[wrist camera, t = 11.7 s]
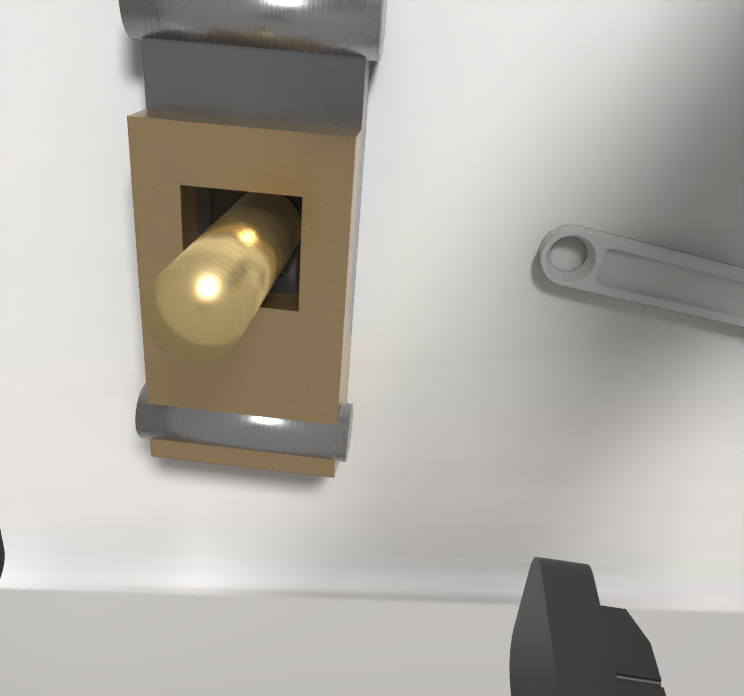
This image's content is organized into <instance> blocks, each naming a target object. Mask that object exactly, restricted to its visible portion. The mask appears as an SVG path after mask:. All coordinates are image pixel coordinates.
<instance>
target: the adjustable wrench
mask: <svg viewBox="0 0 744 696" xmlns="http://www.w3.org/2000/svg"><path fill="white" fill-rule="evenodd" d="M565 237H576V238H578V239H580V240H581V241H582V242H583V243H584V244H585V246H586V248H587V257H586V260H585V261H584V263H583V264H582V265H581V266H580V267H579V268H577V269H575V270H573V271H561V270H559V269H557V268H556V267H555V266H553V264H552V262H551V259H550V252H551V249H552V247H553V245H554V244H555V243H556V242H557V241H558V240H560V239H562V238H565ZM539 259H540V264H541V267H542V270H543V271H544V273H545V275H546V276H547V277H548V278H549V279H550V280H551V281H552V282H554V283H556V284H559V285H561V286H565V287H570V288H574V289H578V290H583V291H587V292H592V293H596V294H601V295H605V296H609V297H614V298H618V299H623V300H627V301H631V302H636V303H640V304H645V305H649V306H654V307H658V308H662V309H667V310H671V311H676V312H680V313H684V314H689V315H693V316H698V317H702V318H707V319H711V320H715V321H720V322H724V323H729V324H733V325H737V326H742V327H744V268H741V267H737V266H733V265H729V264H725V263H721V262H717V261H713V260H710V259H706V258H702V257H698V256H694V255H690V254H686V253H682V252H679V251H675V250H671V249H667V248H663V247H659V246H655V245H651V244H648V243H644V242H640V241H636V240H632V239H628V238H624V237H620V236H617V235H613V234H609V233H605V232H601V231H597V230H593V229H589V228H585V227H582V226H578V225H564V226H560V227H557V228H556V229H554V230H552V231H550V232H549V233H548V234H547V235H546V236H545V237H544V239H543V241H542V243H541V245H540V249H539Z"/></svg>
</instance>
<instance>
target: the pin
mask: <svg viewBox="0 0 744 696" xmlns="http://www.w3.org/2000/svg"><path fill="white" fill-rule="evenodd" d="M301 223H302V222H301V218H300V215H299V213H298V211H297V209H296V207H295V206H294V205H293V203H292V202H291V201H290V200H289V199H288V198H286V197H285V196H283V195H278V194H268V193H257V192H249V193H247V194H246V195H244V196H243V197H241V198H240V199H239V200H238V201H237V202H236V203H235V204H234V205H233V206H232V207H231V208H230V209H228V210H227V211H226V212H225V213H224V214H223V215H222V216H221V217H220V218H219V219H218V220H217V221H216V222H215V223H213V224H212V225H211V226H210V227H209V228H208V229H207V230H206V231H205V232H204V233H203V234H202V235H201V236H199V237H198V238H197V239H196V240H195V241H194V242H193V243H192V244H191V245H190V246H189V247H188V248H187V249H186V250H184V251H183V252H182V253H181V254H180V255H179V256H178V257H177V258H176V259H175V260H174V261H173V262H172V263H171V264H169V265H168V266H167V267H166V268H165V269H164V270H163V271H162V272H161V273H160V274H159V275H158V276H157V277H156V278H154V279H153V281H152V282H151V283H150V284H149V285H148V287H147V288H146V290H145V292H144V295H143V298H142V304H141V313H142V319H143V322H144V325H145V328H146V330H147V332H148V334H149V335H150V337H151V338H152V339H153V341H154V342H155V343H156V344H157V345H158V346H159V347H160V348H161V349H162V350H163V351H165V352H166V353H168V354H169V355H171V356H173V357H175V358H177V359H180V360H183V361H186V362H192V363H207V362H212V361H215V360H218V359H220V358H222V357H224V356H225V355H227V354H228V353H229V352H230V351H231V350H233V348H234V347H235V346H236V344H237V343H238V341H239V339H240V338H241V336H242V335H243V333H244V331H245V330H246V328H247V326H248V325H249V323H250V322H251V320H252V318H253V317H254V315H255V313H256V312H257V310H258V309H259V307H260V305H261V304H262V302H263V300H264V299H265V297H266V296H267V294H268V292H269V291H270V289H271V287H272V286H273V284H274V282H275V281H276V279H277V278H278V276H279V274H280V273H281V271H282V269H283V268H284V266H285V265H286V263H287V261H288V260H289V258H290V256H291V255H292V253H293V252H294V250H295V248H296V247H297V245H298V243H299V241H300V238H301Z"/></svg>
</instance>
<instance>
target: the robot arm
mask: <svg viewBox="0 0 744 696" xmlns="http://www.w3.org/2000/svg"><path fill="white" fill-rule="evenodd" d="M4 559H5V552H4V546H3V541H2V536H1V531H0V577H1V574H2V571H3V567H4ZM510 687H511V696H666V694H665V691H664V688H663V687H661V677H660V674H659V671H658V667H657V664H656V660H655V657H654V654H653V650H652V647H651V643H650V642H649V640H648V639H647V638H646V636H645V635H644V634H643V632H642V631H641V629H640V628H639V627H638V625H637V624H636V623H635V621H634V620H633V619H632V617H631V616H630V615H629V613H628V612H627V610H626V609H621V608H614V607H607V606H601V605H600V602H599V598H598V594H597V589H596V585H595V581H594V576H593V573H592V570H591V568H590V566H589V565H587V564H581V563H575V562H568V561H561V560H554V559H547V558H540V557H535V558H534V559H533V561H532V563H531V566H530V570H529V573H528V577H527V581H526V585H525V588H524V592H523V596H522V600H521V603H520V607H519V611H518V615H517V618H516V622H515V626H514V630H513V635H512V642H511V649H510Z"/></svg>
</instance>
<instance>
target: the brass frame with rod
mask: <svg viewBox="0 0 744 696" xmlns="http://www.w3.org/2000/svg"><path fill="white" fill-rule="evenodd" d="M386 6H387V0H119V7H120V13H121V18H122V22H123V25H124V27H125V30H126V32H127V33H128V35H129V36H130V37H131V38H132V39H134V40H142V46H143V62H144V79H145V95H146V110H143V111H140V112H137V113H134V114H131V115H128V116H127V122H128V136H129V150H130V164H131V177H132V191H133V205H134V219H135V233H136V247H137V260H138V274H139V288H140V302H141V304H142V298H143V295H144V292H145V290H146V288H147V287H148V285H149V284H150V283H151V282H152V281H153V279H154V278H156V277H157V276H158V275H159V274H160V273H161V272H162V271H163V270H164V269H165V268H166V267H167V266H168V265H169V264H171V263H172V262H173V261H174V260H175V259H176V258H177V257H178V256H179V255H180V254H181V253H182V252H183V251H184V250H186V249H187V248H188V247H189V246H190V245H191V244H192V243H193V242H194V241H195V240H196V239H197V238H198V237H199V236H201V235H202V234H203V233H204V232H205V231H206V230H207V229H208V228H209V227H210V226H211V211H210V188H217V189H227V190H237V191H247V192H257V193H268V194H278V195H288V196H298V197H302V223H301V253H300V278H293V277H284V276H278V278H277V279H276V281H275V282H274V284H273V286H272V287H271V289H270V291H269V292H268V294H267V296H266V297H265V299H264V300H263V302H262V304H261V305H260V307H259V309H258V310H257V312H256V313H255V315H254V317H253V318H252V320H251V322H250V323H249V325H248V326H247V328H246V330H245V331H244V333H243V335H242V336H241V338H240V339H239V341H238V343H237V344H236V346H235V347H234V348H233V350H231V351H230V352H229V353H228V354H227V355H225V356H224V357H222V358H220V359H218V360H215V361H212V362H207V363H192V362H186V361H183V360H180V359H177V358H175V357H173V356H171V355H169V354H168V353H166V352H165V351H163V350H162V349H161V348H160V347H159V346H158V345H157V344H156V343H155V342H154V341H153V339H152V338H151V337H150V335H149V334H148V332H147V330H146V328H145V325H144V322H143V319H142V330H143V343H144V357H145V371H146V384H145V385H144V387H143V388H142V390H141V393H140V395H139V398H138V402H137V408H136V417H135V422H136V430H137V433H138V435H139V437H140V438H146V439H150V440H151V454H152V456H155V457H163V458H172V459H180V460H189V461H197V462H206V463H214V464H223V465H231V466H240V467H248V468H256V469H265V470H273V471H282V472H290V473H299V474H307V475H316V476H324V477H333V478H334V476H335V471H336V467H337V463H338V461H343V462H346V461H347V457H348V452H349V445H350V438H351V430H352V419H353V404H350V403H347V389H348V374H349V360H350V346H351V332H352V318H353V303H354V289H355V275H356V261H357V246H358V232H359V218H360V204H361V190H362V175H363V161H364V147H365V133H366V119H367V104H368V90H369V76H370V62H371V61H380V60H381V56H382V50H383V43H384V34H385V22H386ZM141 316H142V313H141Z"/></svg>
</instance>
